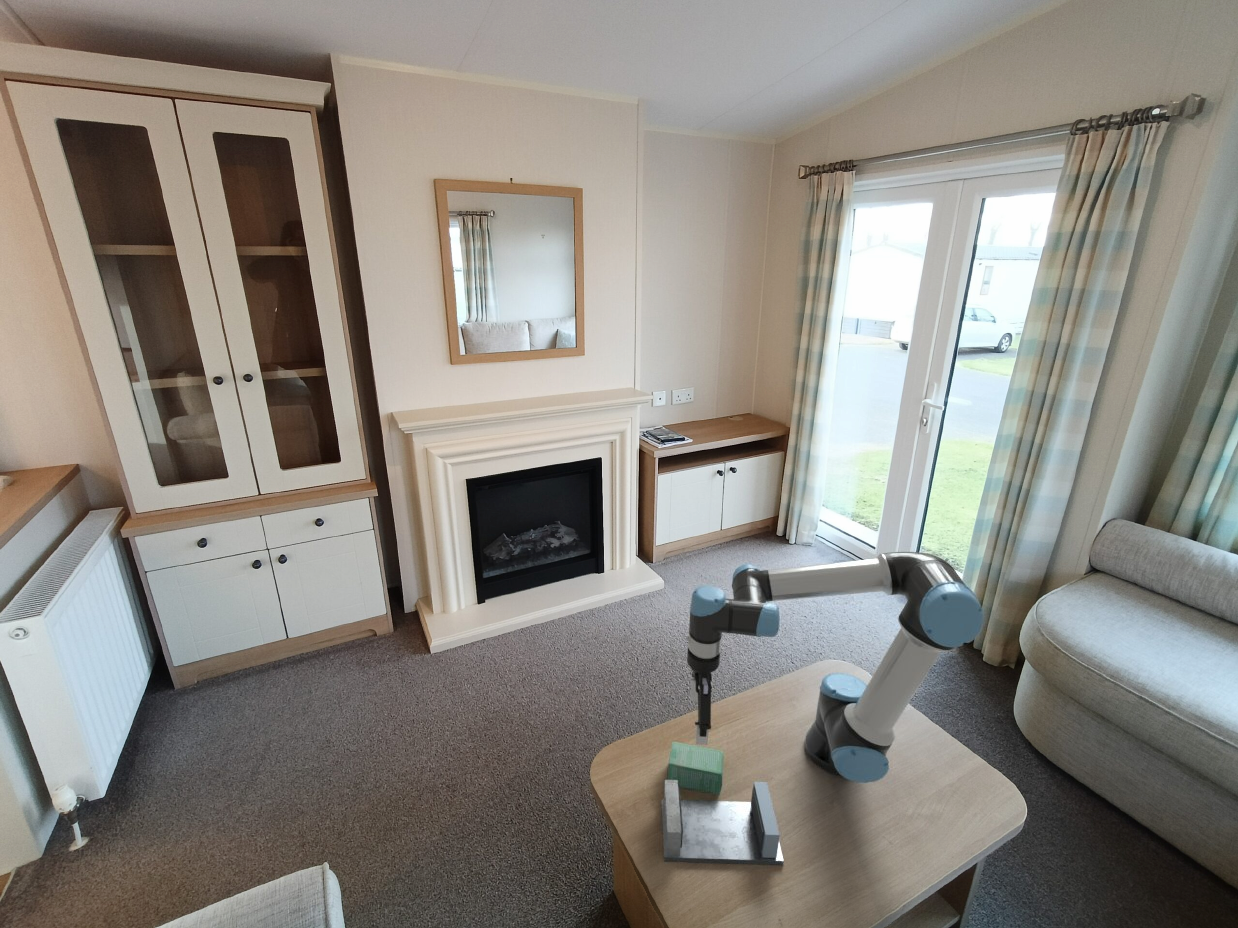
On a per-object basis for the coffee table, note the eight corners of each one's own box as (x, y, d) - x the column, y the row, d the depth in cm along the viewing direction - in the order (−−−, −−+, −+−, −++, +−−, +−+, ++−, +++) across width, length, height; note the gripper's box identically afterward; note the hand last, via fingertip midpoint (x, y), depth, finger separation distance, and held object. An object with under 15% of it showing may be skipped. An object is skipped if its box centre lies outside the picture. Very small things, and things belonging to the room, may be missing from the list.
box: (721, 796, 140) (723, 773, 137) (666, 786, 142) (667, 763, 140) (722, 771, 147) (724, 749, 144) (670, 762, 149) (671, 740, 147)
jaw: (763, 803, 136) (766, 781, 134) (776, 857, 124) (779, 834, 121) (749, 803, 136) (752, 781, 134) (760, 857, 124) (763, 834, 121)
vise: (769, 807, 137) (772, 780, 134) (783, 865, 124) (787, 837, 121) (661, 803, 138) (662, 777, 135) (664, 861, 125) (665, 834, 122)
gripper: (683, 616, 143) (679, 683, 150) (692, 687, 120) (687, 762, 127) (713, 617, 143) (707, 684, 150) (728, 688, 119) (720, 764, 127)
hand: (698, 720), depth 139 cm, fingers open, 13 cm apart
